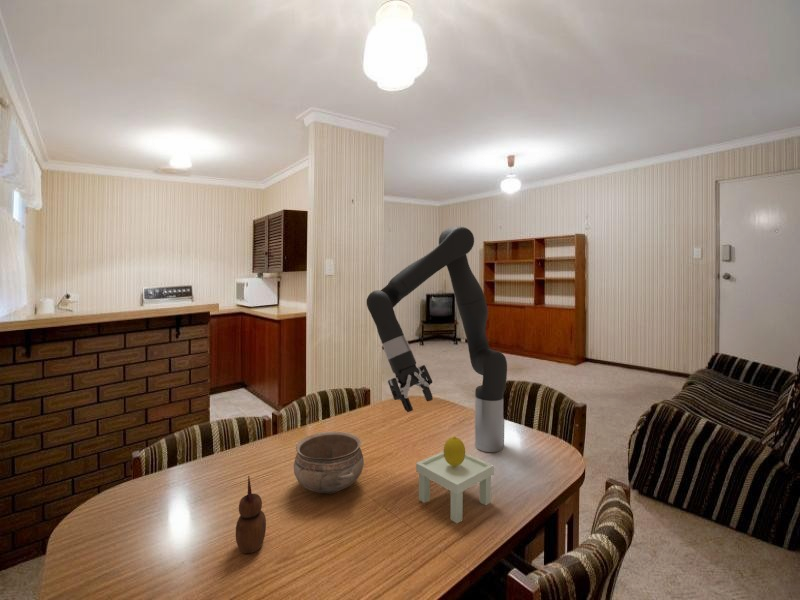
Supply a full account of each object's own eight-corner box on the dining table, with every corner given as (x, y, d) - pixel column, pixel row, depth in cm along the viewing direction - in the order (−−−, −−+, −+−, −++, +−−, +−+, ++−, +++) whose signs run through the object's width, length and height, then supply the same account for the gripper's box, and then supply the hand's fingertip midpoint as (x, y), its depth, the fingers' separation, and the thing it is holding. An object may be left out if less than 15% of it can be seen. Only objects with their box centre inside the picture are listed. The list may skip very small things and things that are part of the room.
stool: (452, 481, 111) (452, 447, 111) (493, 502, 101) (493, 465, 100) (416, 499, 102) (416, 462, 102) (457, 525, 92) (457, 484, 91)
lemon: (464, 473, 98) (464, 442, 97) (442, 471, 99) (442, 440, 98) (465, 462, 103) (465, 433, 103) (444, 461, 104) (444, 431, 104)
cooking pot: (282, 477, 114) (281, 436, 113) (342, 460, 124) (341, 422, 123) (312, 523, 93) (311, 472, 92) (382, 498, 103) (381, 452, 102)
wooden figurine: (242, 537, 88) (240, 472, 87) (269, 536, 88) (267, 471, 87) (232, 559, 81) (230, 489, 80) (261, 557, 82) (259, 487, 81)
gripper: (388, 357, 110) (411, 412, 107) (423, 344, 119) (444, 394, 117) (374, 364, 115) (395, 417, 112) (408, 351, 125) (428, 399, 122)
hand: (420, 405), depth 115 cm, fingers open, 8 cm apart
